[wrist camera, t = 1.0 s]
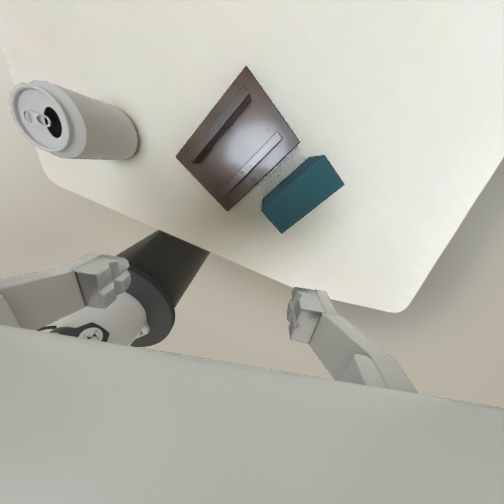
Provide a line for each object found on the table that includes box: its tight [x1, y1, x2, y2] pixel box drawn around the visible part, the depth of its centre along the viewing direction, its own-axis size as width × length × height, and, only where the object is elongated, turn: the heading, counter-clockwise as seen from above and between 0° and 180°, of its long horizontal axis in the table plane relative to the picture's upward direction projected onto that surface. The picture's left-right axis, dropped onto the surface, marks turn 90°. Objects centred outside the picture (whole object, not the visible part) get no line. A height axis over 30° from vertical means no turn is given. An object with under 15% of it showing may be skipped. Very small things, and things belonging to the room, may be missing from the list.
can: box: [9, 80, 138, 160], centre depth 25 cm, size 8×8×12 cm
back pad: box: [261, 155, 344, 234], centre depth 28 cm, size 10×4×9 cm, turn 132°
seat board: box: [176, 66, 300, 211], centre depth 28 cm, size 16×12×4 cm
